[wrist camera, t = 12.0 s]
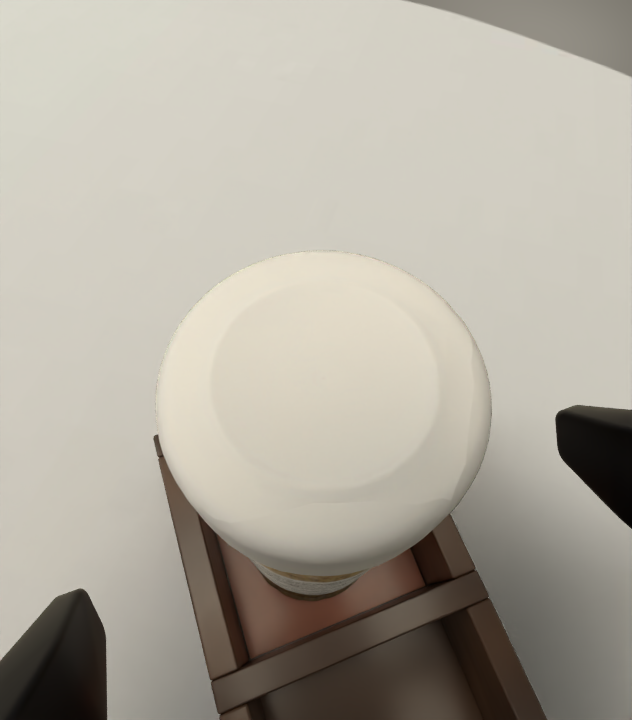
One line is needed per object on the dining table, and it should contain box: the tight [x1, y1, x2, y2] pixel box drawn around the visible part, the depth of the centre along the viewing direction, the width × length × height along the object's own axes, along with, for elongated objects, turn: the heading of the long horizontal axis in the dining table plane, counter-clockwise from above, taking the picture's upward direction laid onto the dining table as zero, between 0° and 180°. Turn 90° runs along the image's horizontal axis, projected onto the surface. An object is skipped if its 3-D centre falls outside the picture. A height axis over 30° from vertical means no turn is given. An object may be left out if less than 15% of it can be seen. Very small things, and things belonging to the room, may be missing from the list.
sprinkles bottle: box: [155, 250, 492, 601], centre depth 13 cm, size 5×5×13 cm
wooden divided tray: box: [154, 435, 547, 720], centre depth 16 cm, size 15×8×4 cm, turn 20°
